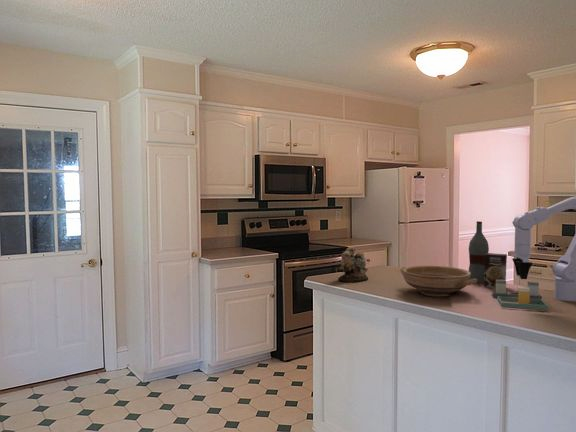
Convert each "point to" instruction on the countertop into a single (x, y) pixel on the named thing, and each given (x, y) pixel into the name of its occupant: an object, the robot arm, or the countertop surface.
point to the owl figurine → (353, 266)
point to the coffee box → (494, 269)
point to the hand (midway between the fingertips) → (521, 277)
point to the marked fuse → (523, 295)
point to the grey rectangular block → (533, 288)
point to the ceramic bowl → (437, 279)
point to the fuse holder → (512, 295)
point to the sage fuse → (501, 286)
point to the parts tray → (518, 305)
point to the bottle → (478, 254)
